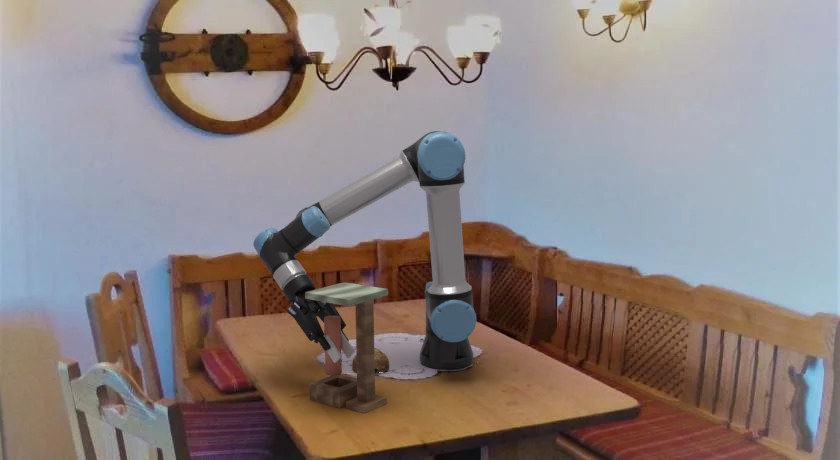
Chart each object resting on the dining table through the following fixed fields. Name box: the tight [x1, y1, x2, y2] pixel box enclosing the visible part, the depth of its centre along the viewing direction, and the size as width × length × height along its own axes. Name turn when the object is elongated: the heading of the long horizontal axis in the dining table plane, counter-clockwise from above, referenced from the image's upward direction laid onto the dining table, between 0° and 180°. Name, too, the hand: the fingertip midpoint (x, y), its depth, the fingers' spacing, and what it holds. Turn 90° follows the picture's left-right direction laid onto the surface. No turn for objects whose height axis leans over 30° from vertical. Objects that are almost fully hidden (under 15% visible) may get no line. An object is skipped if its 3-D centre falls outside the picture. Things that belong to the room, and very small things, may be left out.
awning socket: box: [305, 281, 389, 414], centre depth 193 cm, size 17×14×28 cm
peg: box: [323, 315, 343, 376], centre depth 196 cm, size 4×4×14 cm
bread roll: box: [351, 347, 390, 375], centre depth 219 cm, size 10×10×8 cm
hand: (344, 357), depth 194 cm, fingers closed on peg, 4 cm apart
